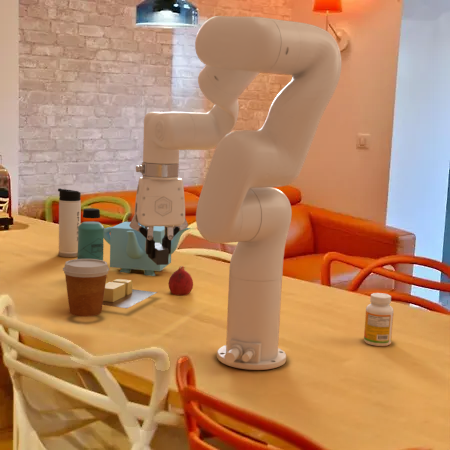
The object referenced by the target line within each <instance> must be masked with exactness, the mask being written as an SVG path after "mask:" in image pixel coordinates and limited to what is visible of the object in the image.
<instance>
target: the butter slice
mask: <svg viewBox="0 0 450 450" xmlns="http://www.w3.org/2000/svg"><path fill="white" fill-rule="evenodd" d="M111 282H116V283H124V284H125V295H129V294H131V293H132V289H133V280H132V279H124V278H116V279H112V281H111Z"/></svg>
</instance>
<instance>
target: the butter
mask: <svg viewBox="0 0 450 450" xmlns="http://www.w3.org/2000/svg"><path fill="white" fill-rule="evenodd" d="M122 297H125V284H124V283H116V282H112V281H109V282H106V284H105V291H104V298H103V301H108V302H114V301H116V300H118V299H120V298H122Z"/></svg>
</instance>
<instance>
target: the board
mask: <svg viewBox="0 0 450 450" xmlns="http://www.w3.org/2000/svg"><path fill="white" fill-rule="evenodd" d="M157 293H158V291H151V290H149V291H148V290H142V289H134V288H132V293H131V294H129V295H125V297H122V298H120V299H118V300H116V301H114V302H108V301H103V304H102V306H105V307H106V306H108V307H113V308H114V307H116V308H121V309H129V308H131V307H133V306H135V305H137V304H139V303H140V302H142V301H144V300H146V299H148V298H150V297H153V296H154V295H156V294H157Z"/></svg>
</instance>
